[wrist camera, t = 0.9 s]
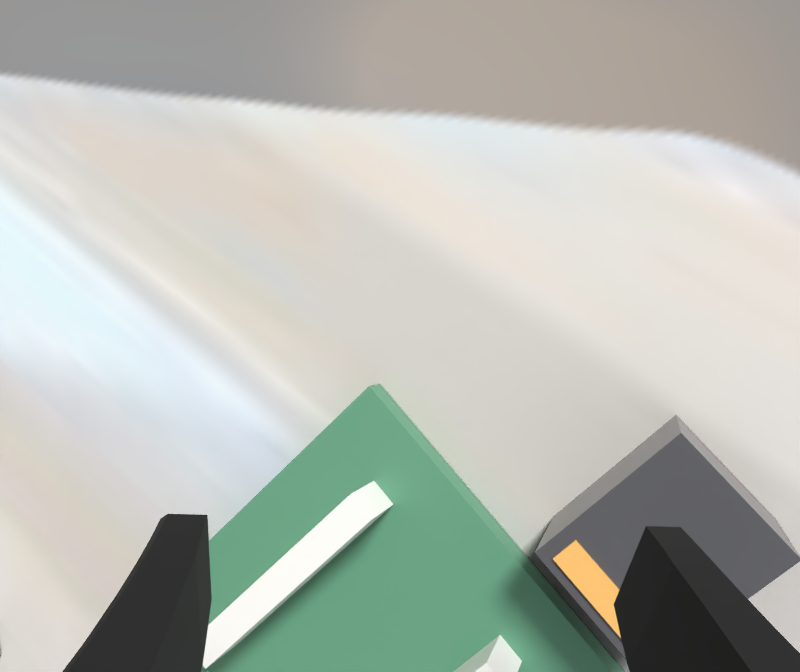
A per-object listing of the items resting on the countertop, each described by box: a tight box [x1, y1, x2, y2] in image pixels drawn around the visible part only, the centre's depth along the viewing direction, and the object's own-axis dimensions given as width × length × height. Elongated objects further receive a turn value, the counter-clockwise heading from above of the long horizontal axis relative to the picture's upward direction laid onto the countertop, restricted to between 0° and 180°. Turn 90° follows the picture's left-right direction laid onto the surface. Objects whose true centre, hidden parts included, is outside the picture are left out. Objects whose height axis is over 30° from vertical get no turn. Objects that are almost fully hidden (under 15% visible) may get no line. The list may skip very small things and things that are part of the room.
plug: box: [535, 415, 800, 659], centre depth 20 cm, size 4×5×4 cm
